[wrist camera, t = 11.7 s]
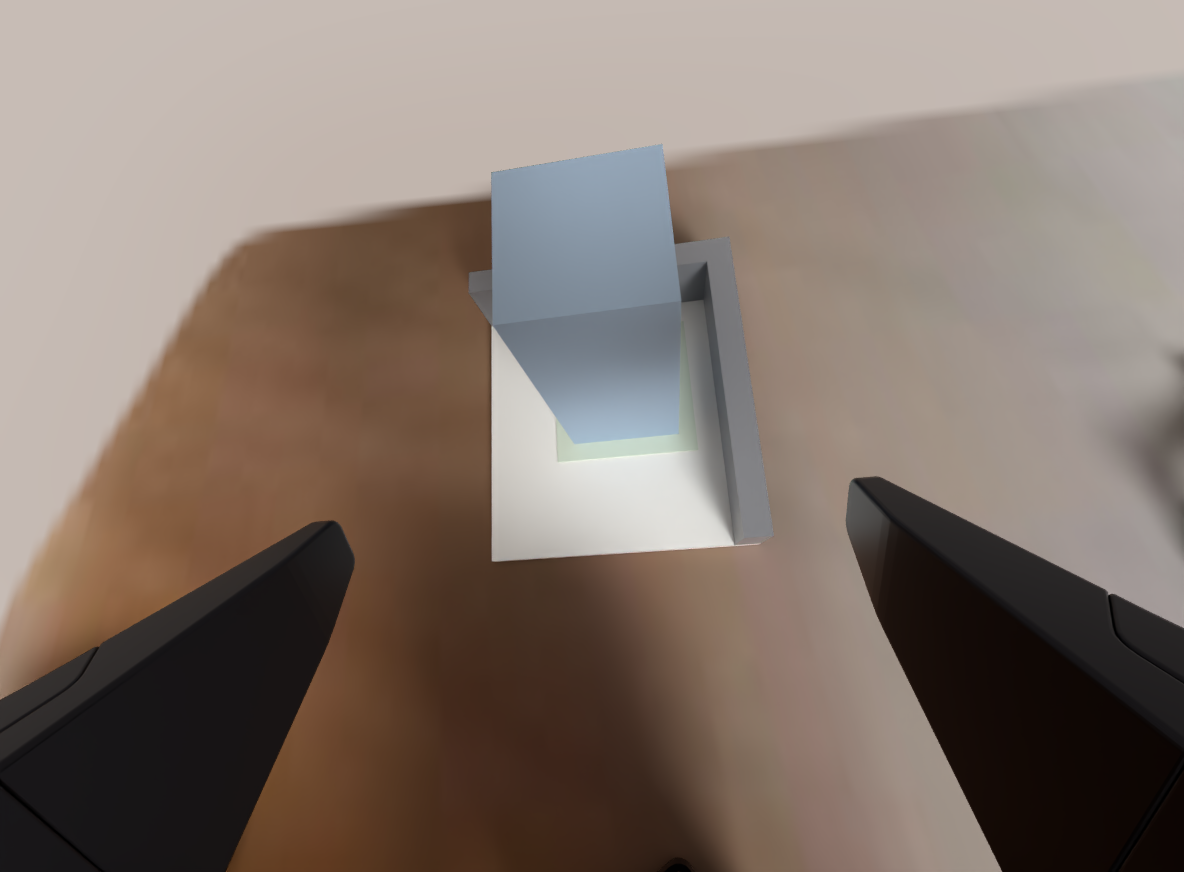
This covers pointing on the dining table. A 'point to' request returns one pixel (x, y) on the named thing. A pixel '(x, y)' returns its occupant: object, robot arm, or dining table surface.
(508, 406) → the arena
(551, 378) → the slate block
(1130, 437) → the dining table surface
